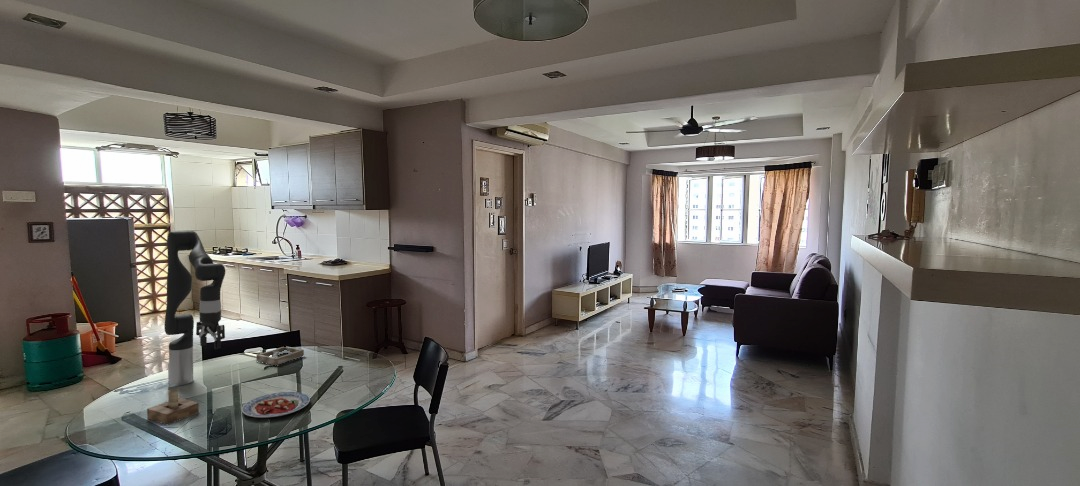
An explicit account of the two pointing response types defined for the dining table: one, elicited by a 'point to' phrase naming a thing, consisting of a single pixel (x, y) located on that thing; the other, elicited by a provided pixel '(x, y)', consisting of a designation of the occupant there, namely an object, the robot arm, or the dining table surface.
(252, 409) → the ceramic plate
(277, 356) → the soldier figure
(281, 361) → the figure corral
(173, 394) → the dowel
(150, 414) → the socket block
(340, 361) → the dining table surface
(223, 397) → the dining table surface
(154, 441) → the dining table surface
